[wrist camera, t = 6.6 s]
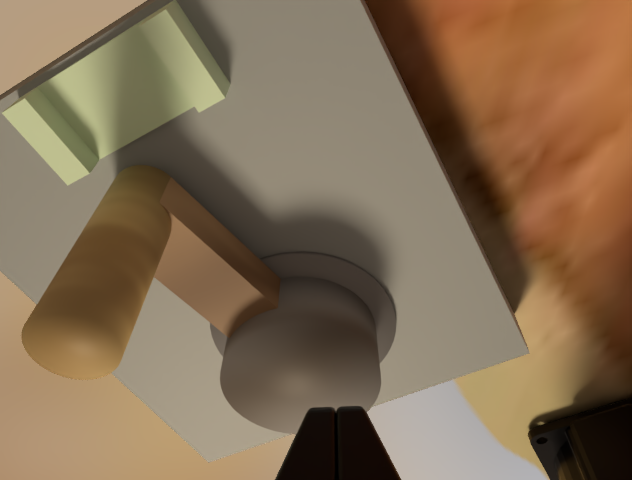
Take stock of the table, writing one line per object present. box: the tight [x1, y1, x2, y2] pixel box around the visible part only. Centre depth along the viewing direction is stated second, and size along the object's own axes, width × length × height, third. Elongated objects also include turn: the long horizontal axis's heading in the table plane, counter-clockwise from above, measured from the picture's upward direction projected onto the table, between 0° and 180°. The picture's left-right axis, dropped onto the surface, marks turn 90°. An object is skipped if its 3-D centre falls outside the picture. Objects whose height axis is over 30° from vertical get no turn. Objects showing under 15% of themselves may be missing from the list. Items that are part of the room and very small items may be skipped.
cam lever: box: [22, 165, 381, 434], centre depth 16 cm, size 10×5×6 cm, turn 39°
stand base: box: [0, 0, 530, 462], centre depth 19 cm, size 16×14×3 cm
